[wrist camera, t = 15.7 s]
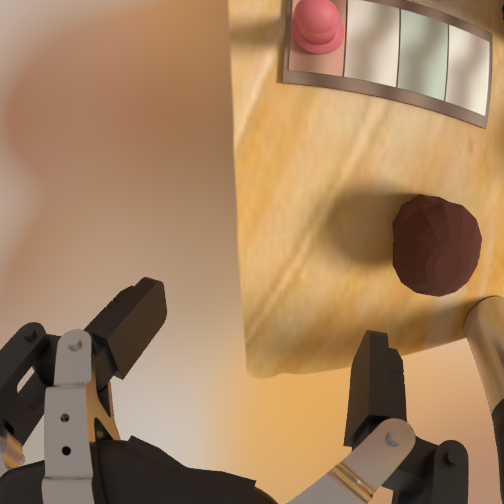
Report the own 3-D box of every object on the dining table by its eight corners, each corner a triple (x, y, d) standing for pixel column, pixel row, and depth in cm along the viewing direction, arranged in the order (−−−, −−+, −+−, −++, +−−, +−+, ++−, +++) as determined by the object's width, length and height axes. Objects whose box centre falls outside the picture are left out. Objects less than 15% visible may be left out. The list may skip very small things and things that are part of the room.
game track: (489, 34, 18) (492, 33, 18) (484, 128, 25) (487, 129, 24) (288, -16, 23) (288, -19, 22) (283, 82, 29) (282, 82, 29)
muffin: (470, 243, 32) (500, 285, 24) (404, 279, 37) (419, 328, 29) (441, 166, 29) (477, 192, 21) (367, 208, 34) (380, 247, 26)
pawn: (344, 13, 23) (351, -14, 15) (342, 58, 26) (349, 43, 18) (293, 7, 24) (282, -21, 16) (290, 51, 27) (278, 35, 19)
